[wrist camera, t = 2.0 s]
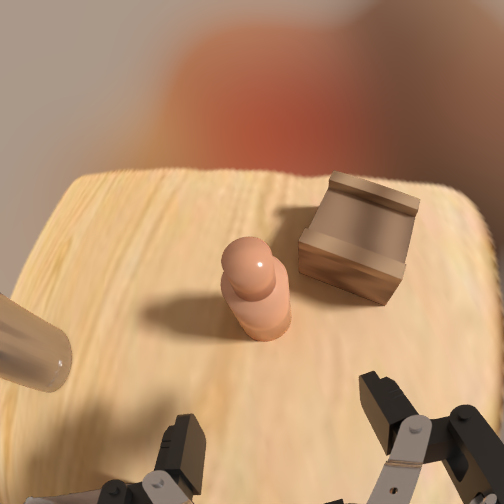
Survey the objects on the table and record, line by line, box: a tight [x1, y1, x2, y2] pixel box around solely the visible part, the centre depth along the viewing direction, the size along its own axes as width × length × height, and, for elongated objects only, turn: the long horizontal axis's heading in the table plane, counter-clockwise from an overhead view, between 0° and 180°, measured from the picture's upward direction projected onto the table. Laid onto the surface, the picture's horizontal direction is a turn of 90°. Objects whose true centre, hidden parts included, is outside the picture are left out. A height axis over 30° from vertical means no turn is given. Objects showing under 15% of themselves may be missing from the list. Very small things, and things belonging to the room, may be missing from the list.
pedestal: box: [298, 170, 420, 306], centre depth 29 cm, size 10×10×6 cm
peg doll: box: [221, 237, 291, 341], centre depth 25 cm, size 5×5×12 cm
